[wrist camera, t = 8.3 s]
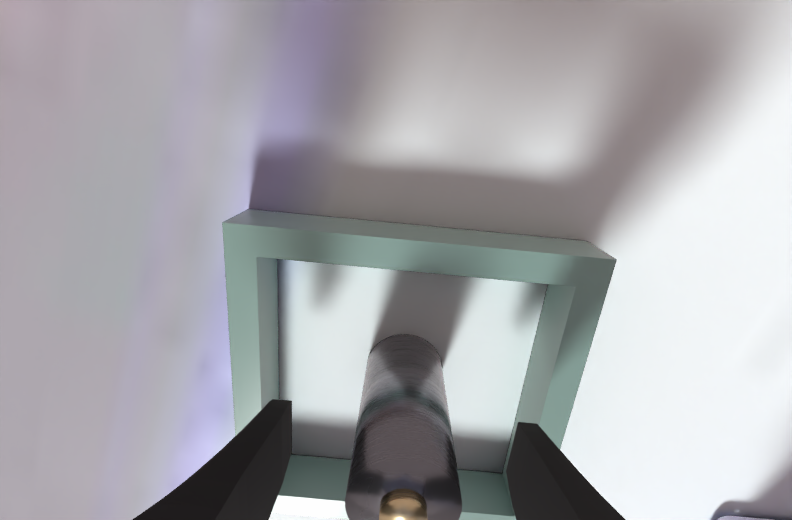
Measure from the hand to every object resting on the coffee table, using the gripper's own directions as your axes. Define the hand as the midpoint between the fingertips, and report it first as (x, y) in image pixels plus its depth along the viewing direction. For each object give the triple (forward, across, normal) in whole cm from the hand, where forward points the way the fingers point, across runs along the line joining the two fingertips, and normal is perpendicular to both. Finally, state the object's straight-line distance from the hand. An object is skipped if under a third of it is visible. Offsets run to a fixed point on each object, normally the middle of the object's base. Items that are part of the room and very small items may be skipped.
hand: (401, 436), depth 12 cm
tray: (+3, 0, 0) cm, 3 cm away
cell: (+4, 0, 0) cm, 4 cm away
